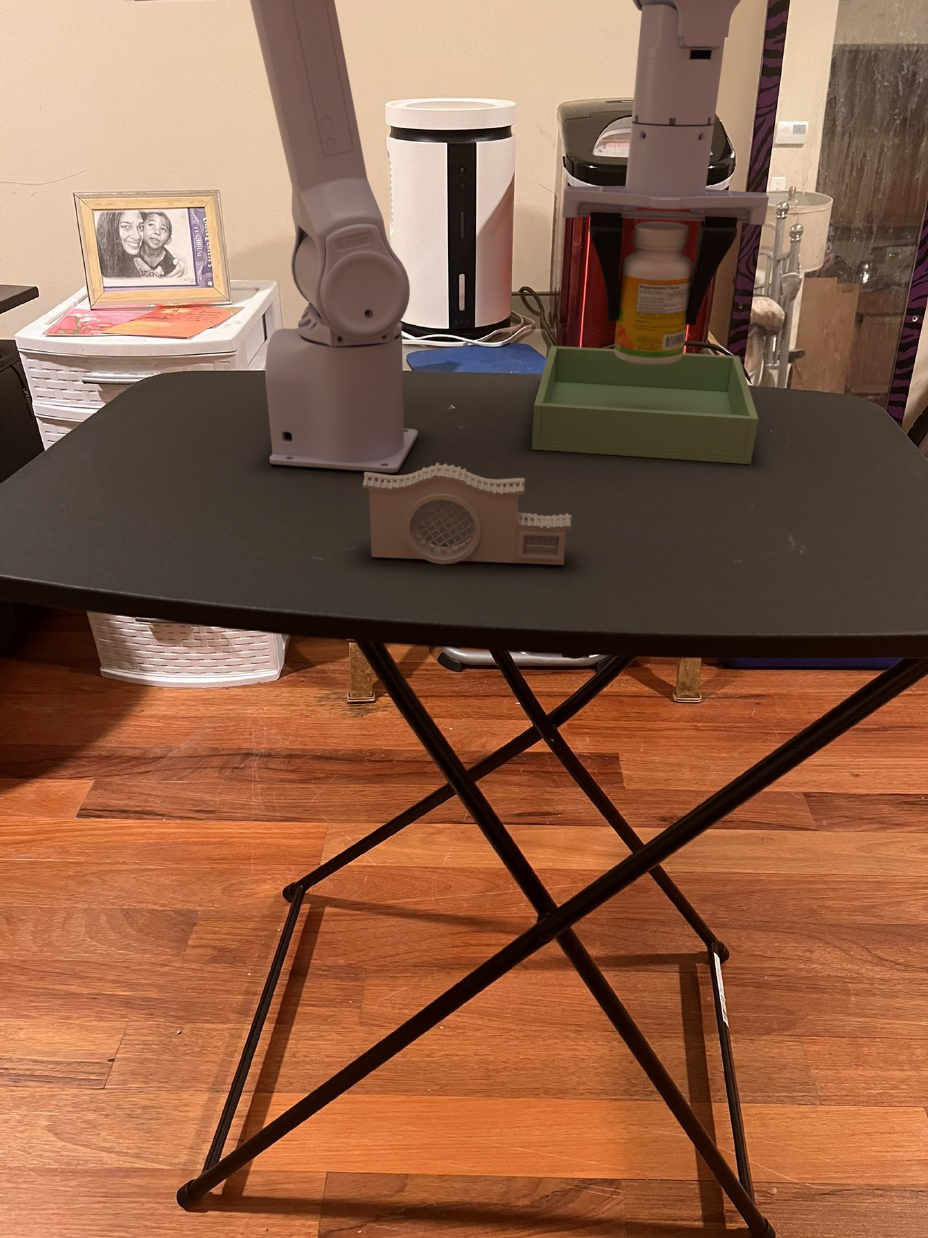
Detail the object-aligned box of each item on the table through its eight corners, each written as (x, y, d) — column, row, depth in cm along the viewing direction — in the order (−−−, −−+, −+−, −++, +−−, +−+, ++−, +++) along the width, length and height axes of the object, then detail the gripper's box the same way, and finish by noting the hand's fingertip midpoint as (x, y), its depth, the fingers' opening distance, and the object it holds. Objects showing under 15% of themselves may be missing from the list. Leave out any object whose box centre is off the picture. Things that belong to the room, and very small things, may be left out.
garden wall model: (567, 556, 59) (574, 464, 56) (568, 570, 57) (575, 476, 54) (370, 548, 59) (366, 456, 56) (365, 561, 58) (361, 468, 55)
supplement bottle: (615, 345, 80) (627, 218, 75) (682, 349, 79) (698, 221, 74) (611, 363, 75) (622, 229, 70) (682, 368, 74) (699, 233, 69)
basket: (531, 449, 74) (533, 404, 72) (548, 384, 87) (551, 345, 85) (750, 464, 72) (758, 418, 70) (733, 395, 85) (739, 355, 83)
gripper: (565, 124, 66) (553, 327, 73) (785, 130, 64) (751, 338, 71) (571, 117, 72) (559, 305, 79) (773, 122, 70) (743, 314, 77)
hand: (650, 319), depth 75 cm, fingers closed on supplement bottle, 5 cm apart
